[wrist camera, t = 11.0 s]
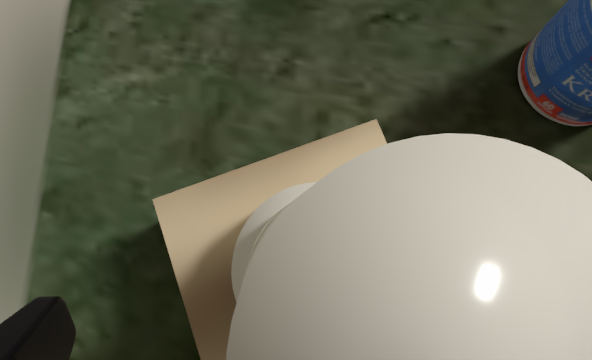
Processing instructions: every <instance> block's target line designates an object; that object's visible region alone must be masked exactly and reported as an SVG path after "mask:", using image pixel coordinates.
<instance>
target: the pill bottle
mask: <svg viewBox="0 0 592 360" xmlns="http://www.w3.org/2000/svg"><path fill="white" fill-rule="evenodd" d="M518 81H519V85H520V88H521V91H522V93H523V95H524V96H525V98H526V100H527V101H528V102H529V104H530V105H531V106H532V107H533V108H534V109H535V110H536V111H537V112H539V113H540V114H541V115H543V116H544V117H546V118H548V119H550V120H552V121H555V122H557V123H560V124H564V125H569V126H586V125H591V124H592V0H568V1H567V3H566V4H565V5H564V6H563V7H562V8H561V9H560V10H559V11H558V12H557V13H556V14H555V15H554V16H553V18H552V19H551V20H550V21H549V22H548V23H547V24H546V25H545V26H544V27H543V28H542V29H541V30H540V31H539V32H538V34H537V35H536V36H535V37H534V38H533V39H532V40H531V41H530V43H529V44H528V45H527V47H526V48H525V50H524V51H523V53H522V55H521V58H520V61H519V65H518Z"/></svg>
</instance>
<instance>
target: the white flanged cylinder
mask: <svg viewBox="0 0 592 360" xmlns="http://www.w3.org/2000/svg"><path fill="white" fill-rule="evenodd" d="M231 277H232V287H233V292H234V296H235V300H236V302H237V303H236V307H235V310H234V314H233V317H232V321H231V327H230V333H229V340H228V346H227V352H226V360H592V181H591V180H589V179H588V178H587V177H586V176H584V175H583V174H581V173H580V172H578V171H577V170H575V169H573V168H572V167H570V166H568V165H567V164H565V163H564V162H562V161H560V160H559V159H557V158H554V157H552V156H550V155H548V154H546V153H543V152H541V151H539V150H537V149H535V148H532V147H529V146H526V145H523V144H519V143H516V142H513V141H510V140H506V139H502V138H496V137H490V136H484V135H478V134H456V133H445V134H435V135H424V136H417V137H413V138H408V139H404V140H400V141H396V142H392V143H389V144H386V145H383V146H381V147H378V148H376V149H373V150H370V151H368V152H365V153H363V154H361V155H359V156H357V157H355V158H353V159H352V160H350V161H348V162H346V163H344V164H343V165H341V166H339V167H337V168H336V169H334V170H333V171H332V172H330V173H329V174H327V175H326V176H325V177H323V178H322V179H321V180H319V181H318V182H311V183H303V184H299V185H295V186H292V187H289V188H287V189H284V190H282V191H280V192H278V193H277V194H275V195H273V196H272V197H270V198H269V199H267V200H266V201H265V202H263V203H262V204H261V205H260V206H259V207H258V208H257V209H256V210H255V211H254V212H253V214H252V215H251V216H250V217H249V219H248V220H247V222H246V223H245V225H244V227H243V228H242V230H241V232H240V235H239V237H238V239H237V242H236V245H235V248H234V252H233V258H232V269H231Z"/></svg>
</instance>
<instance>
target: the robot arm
mask: <svg viewBox="0 0 592 360" xmlns="http://www.w3.org/2000/svg"><path fill="white" fill-rule="evenodd" d="M75 336H76V330H75V325H74V323H73V320H72V318H71V315H70V313H69V310H68V308H67V305H66V303H65V301H64V300H63V299H62V298H61V297H38V298H35V299H34V300H32V301H31V302H29V303H28V304H27V305H25V306H24V307H23V308H21V309H20V310H19V311H17V312H16V313H15V314H13V315H12V316H10V317H9V318H8V319H6V320H5V321H4V322H2V323H1V324H0V360H69V358H70V355H71V352H72V348H73V345H74V341H75Z"/></svg>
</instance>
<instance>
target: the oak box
mask: <svg viewBox="0 0 592 360" xmlns="http://www.w3.org/2000/svg"><path fill="white" fill-rule="evenodd" d="M386 144H387V142H386V140H385V138H384V135H383V133H382V131H381V128H380V126H379V124H378V121H377V119H375V120H373V121H370V122H367V123H364V124H361V125H359V126H356V127H353V128H350V129H347V130H345V131H342V132H339V133H336V134H334V135H331V136H328V137H325V138H322V139H320V140H317V141H314V142H311V143H308V144H306V145H303V146H300V147H297V148H295V149H292V150H289V151H286V152H283V153H281V154H278V155H275V156H272V157H269V158H267V159H264V160H261V161H258V162H256V163H253V164H250V165H247V166H244V167H242V168H239V169H236V170H233V171H230V172H228V173H225V174H222V175H219V176H217V177H214V178H211V179H208V180H205V181H203V182H200V183H197V184H194V185H192V186H189V187H186V188H183V189H180V190H178V191H175V192H172V193H169V194H166V195H164V196H161V197H158V198H155V199H153V203H154V206H155V209H156V213H157V216H158V219H159V223H160V226H161V229H162V233H163V236H164V239H165V243H166V246H167V249H168V253H169V256H170V259H171V263H172V266H173V269H174V273H175V276H176V279H177V283H178V286H179V289H180V293H181V296H182V299H183V303H184V306H185V309H186V313H187V316H188V319H189V323H190V326H191V329H192V333H193V336H194V339H195V343H196V346H197V349H198V352H199V356H200V359H201V360H226V352H227V346H228V340H229V333H230V327H231V321H232V317H233V314H234V310H235V307H236V303H237V302H236V300H235V296H234V292H233V287H232V277H231V269H232V258H233V252H234V248H235V245H236V242H237V239H238V237H239V235H240V232H241V230H242V228H243V227H244V225H245V223H246V222H247V220H248V219H249V217H250V216H251V215H252V214H253V212H254V211H255V210H256V209H257V208H258V207H259V206H260V205H261V204H262V203H263V202H265V201H266V200H267V199H269V198H270V197H272V196H273V195H275V194H277V193H278V192H280V191H282V190H284V189H287V188H289V187H292V186H295V185H299V184H303V183H311V182H318V181H319V180H321V179H322V178H323V177H325V176H326V175H327V174H329V173H330V172H332V171H333V170H334V169H336V168H337V167H339V166H341V165H343V164H344V163H346V162H348V161H350V160H352V159H353V158H355V157H357V156H359V155H361V154H363V153H365V152H368V151H370V150H373V149H376V148H378V147H381V146H383V145H386Z"/></svg>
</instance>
